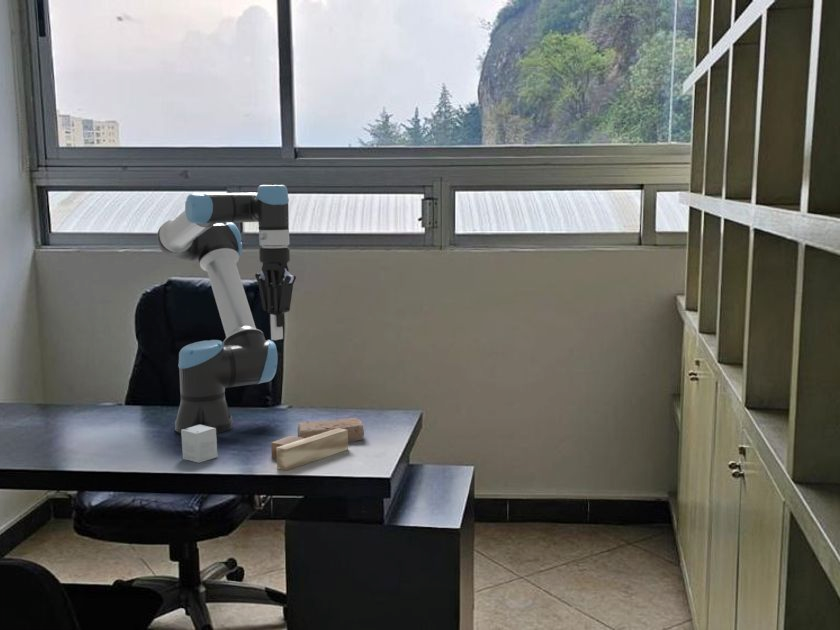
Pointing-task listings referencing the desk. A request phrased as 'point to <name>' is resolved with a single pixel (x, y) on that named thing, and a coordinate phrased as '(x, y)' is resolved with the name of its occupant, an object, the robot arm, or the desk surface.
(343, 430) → the board
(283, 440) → the block
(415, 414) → the desk surface
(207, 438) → the skincare box
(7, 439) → the desk surface
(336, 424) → the brick
